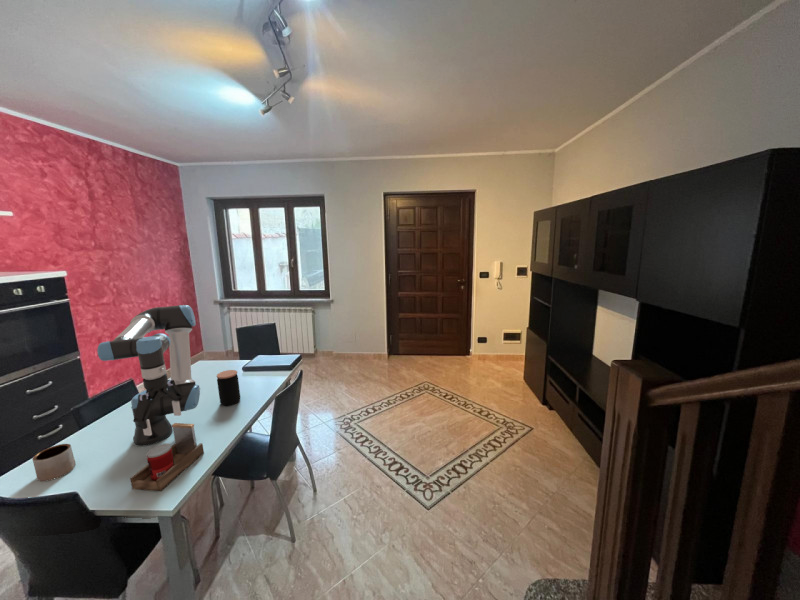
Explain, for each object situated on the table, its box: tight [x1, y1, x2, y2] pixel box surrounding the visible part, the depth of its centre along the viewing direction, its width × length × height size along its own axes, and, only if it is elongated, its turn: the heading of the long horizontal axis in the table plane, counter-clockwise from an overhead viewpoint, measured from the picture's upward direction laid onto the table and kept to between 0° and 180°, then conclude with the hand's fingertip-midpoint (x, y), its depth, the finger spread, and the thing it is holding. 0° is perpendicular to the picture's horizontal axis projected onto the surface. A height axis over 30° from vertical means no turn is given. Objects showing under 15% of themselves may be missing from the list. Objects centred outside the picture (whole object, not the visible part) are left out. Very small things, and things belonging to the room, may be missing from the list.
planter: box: [32, 443, 77, 482], centre depth 129 cm, size 11×11×10 cm
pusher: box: [171, 422, 198, 454], centre depth 137 cm, size 9×2×14 cm, turn 83°
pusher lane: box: [129, 442, 205, 493], centre depth 129 cm, size 12×22×5 cm, turn 173°
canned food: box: [146, 443, 174, 481], centre depth 125 cm, size 8×8×11 cm
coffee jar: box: [216, 369, 241, 407], centre depth 183 cm, size 11×11×18 cm
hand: (163, 424), depth 126 cm, fingers open, 13 cm apart
